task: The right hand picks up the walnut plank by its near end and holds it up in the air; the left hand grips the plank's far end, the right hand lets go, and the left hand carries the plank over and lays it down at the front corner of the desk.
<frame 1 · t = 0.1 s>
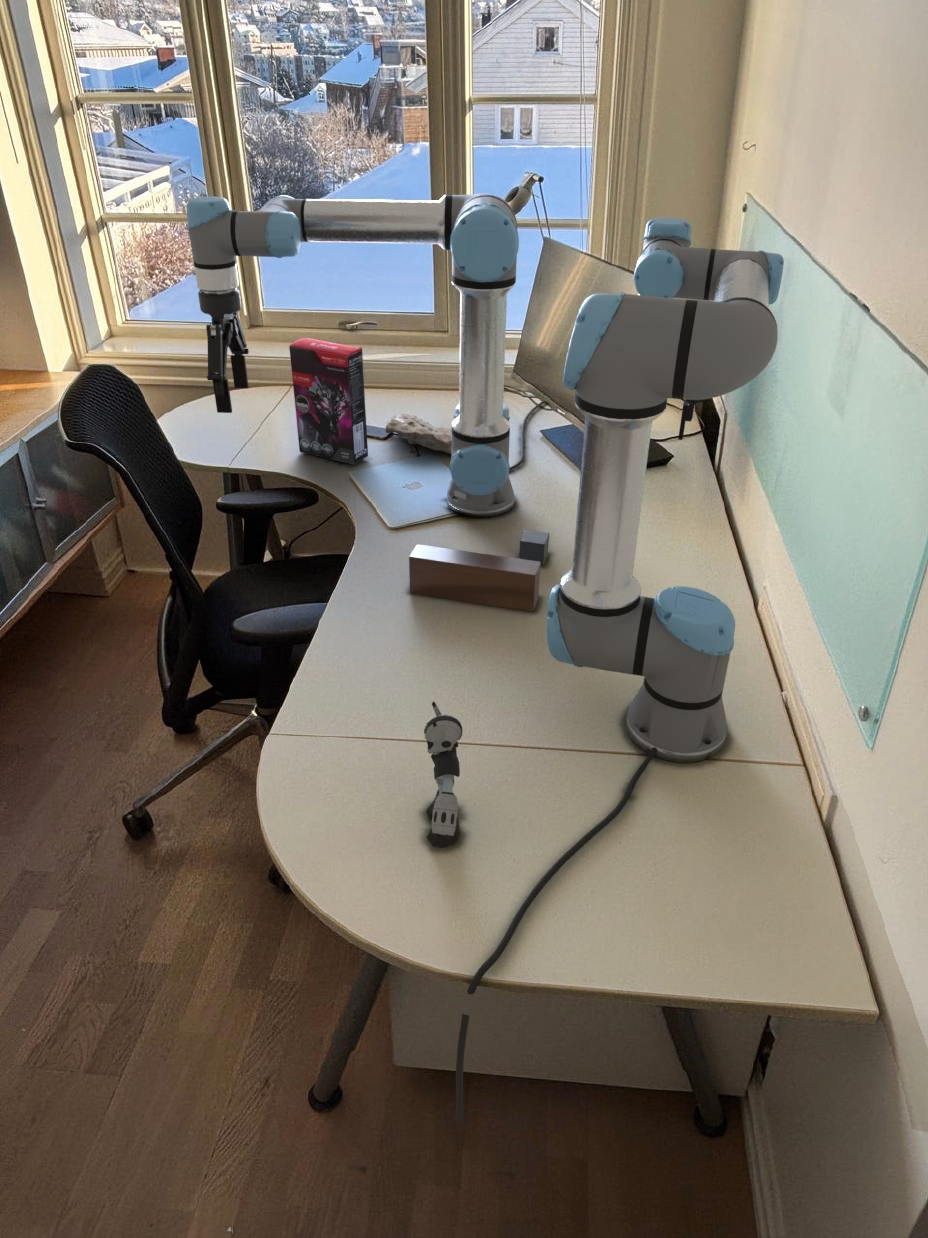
left hand: (233, 399, 183), 28 cm above the table, fingers open, 13 cm apart
right hand: (643, 432, 170), 28 cm above the table, fingers open, 13 cm apart
stone: (422, 444, 235), on the table
slate grey block: (533, 558, 187), on the table
robot: (443, 825, 126), on the table
walnut plank: (474, 595, 175), on the table
graphics card box: (333, 455, 228), on the table
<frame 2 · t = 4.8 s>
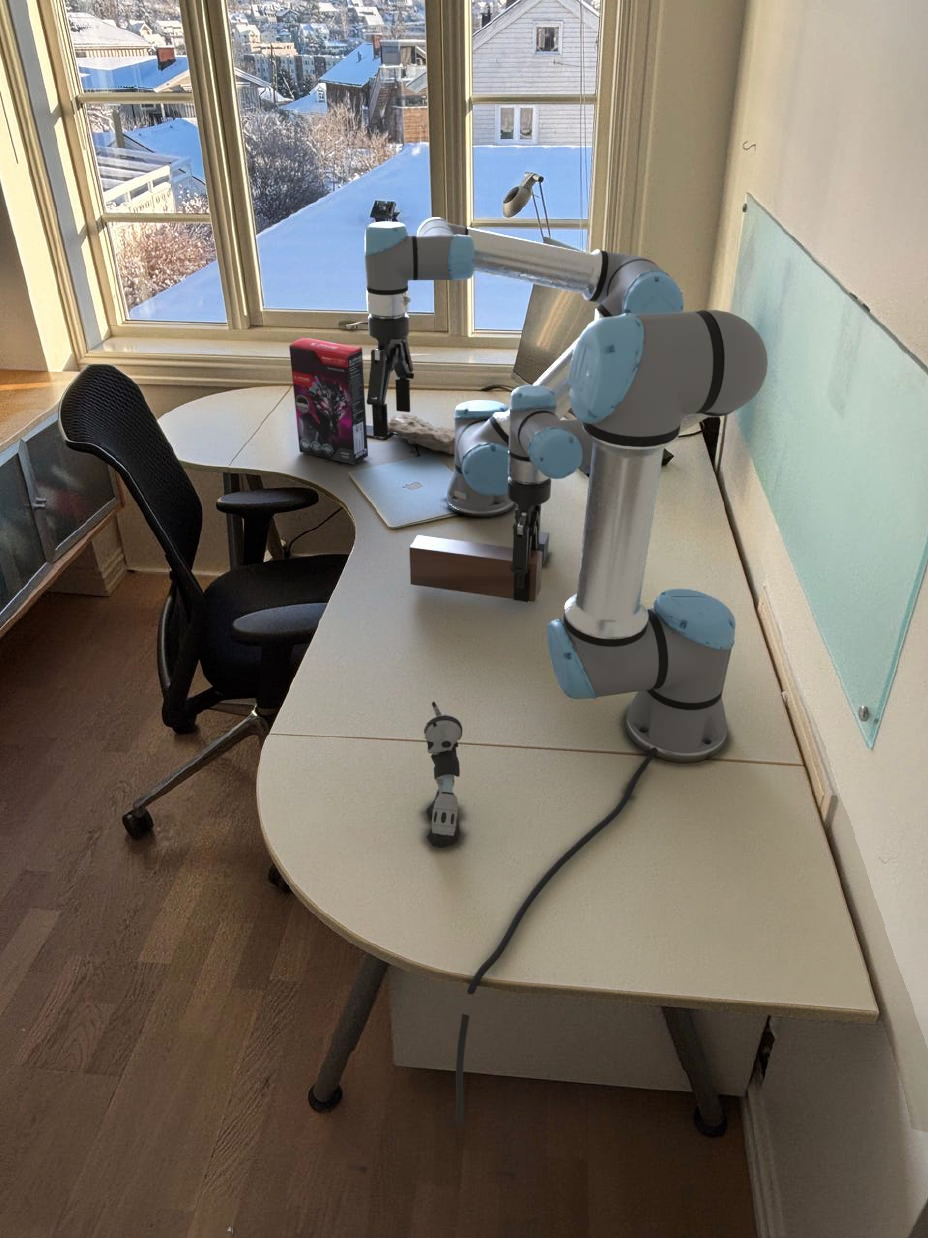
left hand: (392, 423, 181), 25 cm above the table, fingers open, 13 cm apart
right hand: (524, 592, 171), 3 cm above the table, fingers closed on walnut plank, 5 cm apart
walnut plank: (475, 586, 173), point 2 cm above the table, touching right hand
everything else where it was.
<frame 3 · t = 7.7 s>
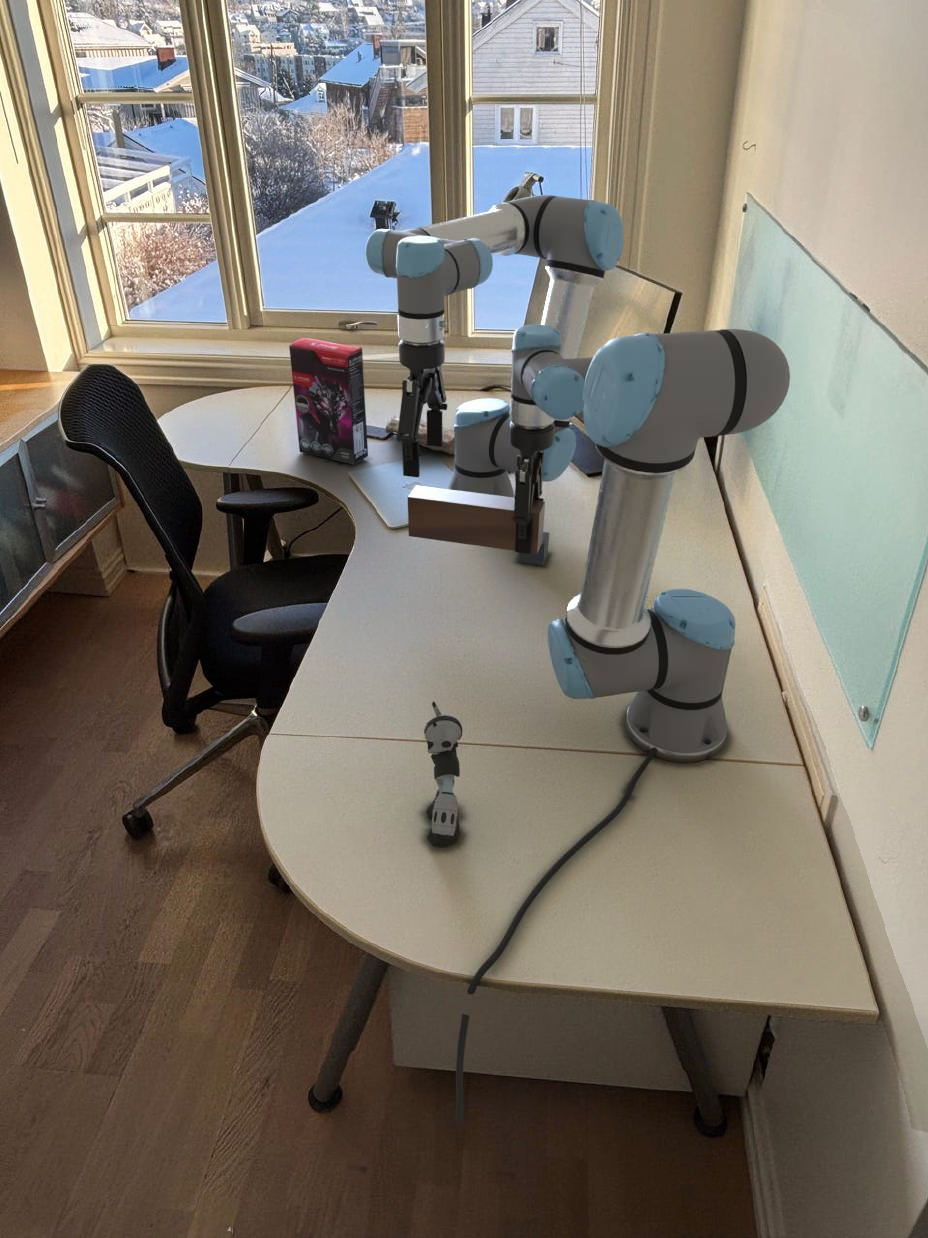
left hand: (423, 460, 162), 27 cm above the table, fingers open, 13 cm apart
right hand: (526, 544, 166), 13 cm above the table, fingers closed on walnut plank, 5 cm apart
walnut plank: (475, 538, 168), point 12 cm above the table, touching right hand
everything else where it was.
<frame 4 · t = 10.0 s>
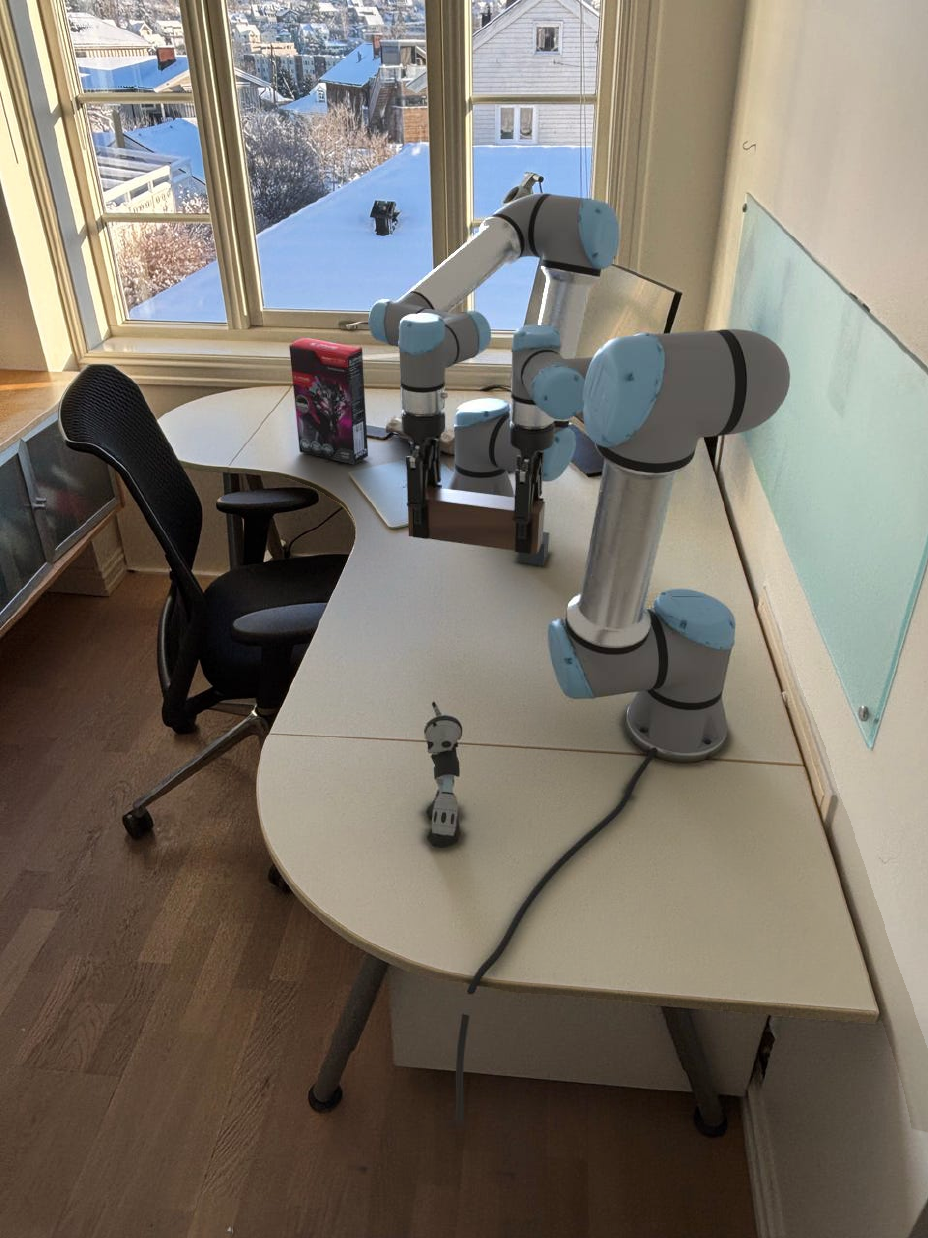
left hand: (425, 529, 170), 13 cm above the table, fingers closed on walnut plank, 5 cm apart
right hand: (526, 544, 166), 13 cm above the table, fingers closed on walnut plank, 5 cm apart
walnut plank: (475, 538, 168), point 12 cm above the table, touching right hand, left hand
everything else where it was.
when the right hand's fingers open (13 cm above the table, at t = 10.7 s): walnut plank stays where it is, held by the left hand.
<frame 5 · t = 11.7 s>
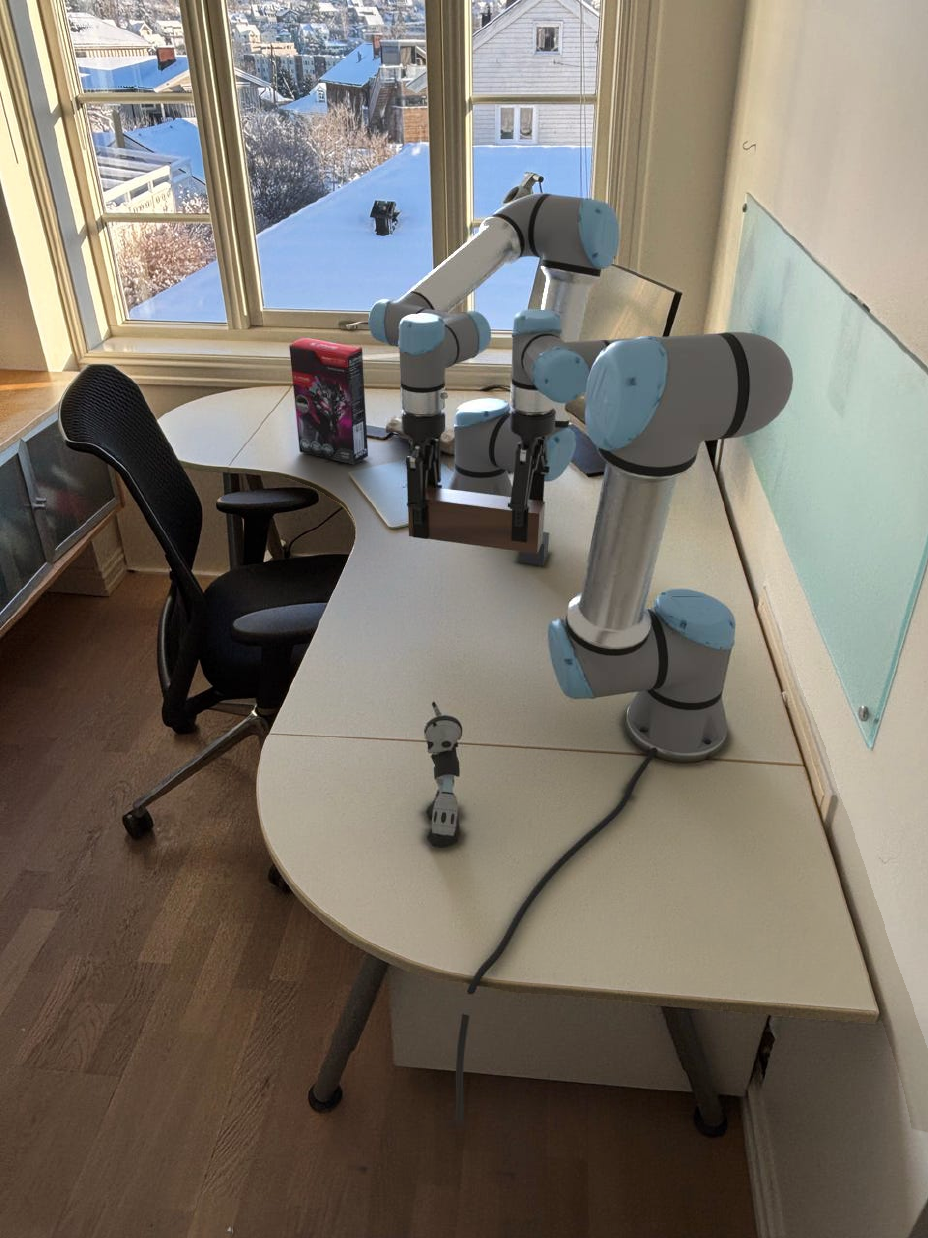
left hand: (425, 529, 170), 13 cm above the table, fingers closed on walnut plank, 5 cm apart
right hand: (527, 523, 163), 17 cm above the table, fingers open, 13 cm apart
walnut plank: (475, 538, 168), point 12 cm above the table, touching left hand
everything else where it was.
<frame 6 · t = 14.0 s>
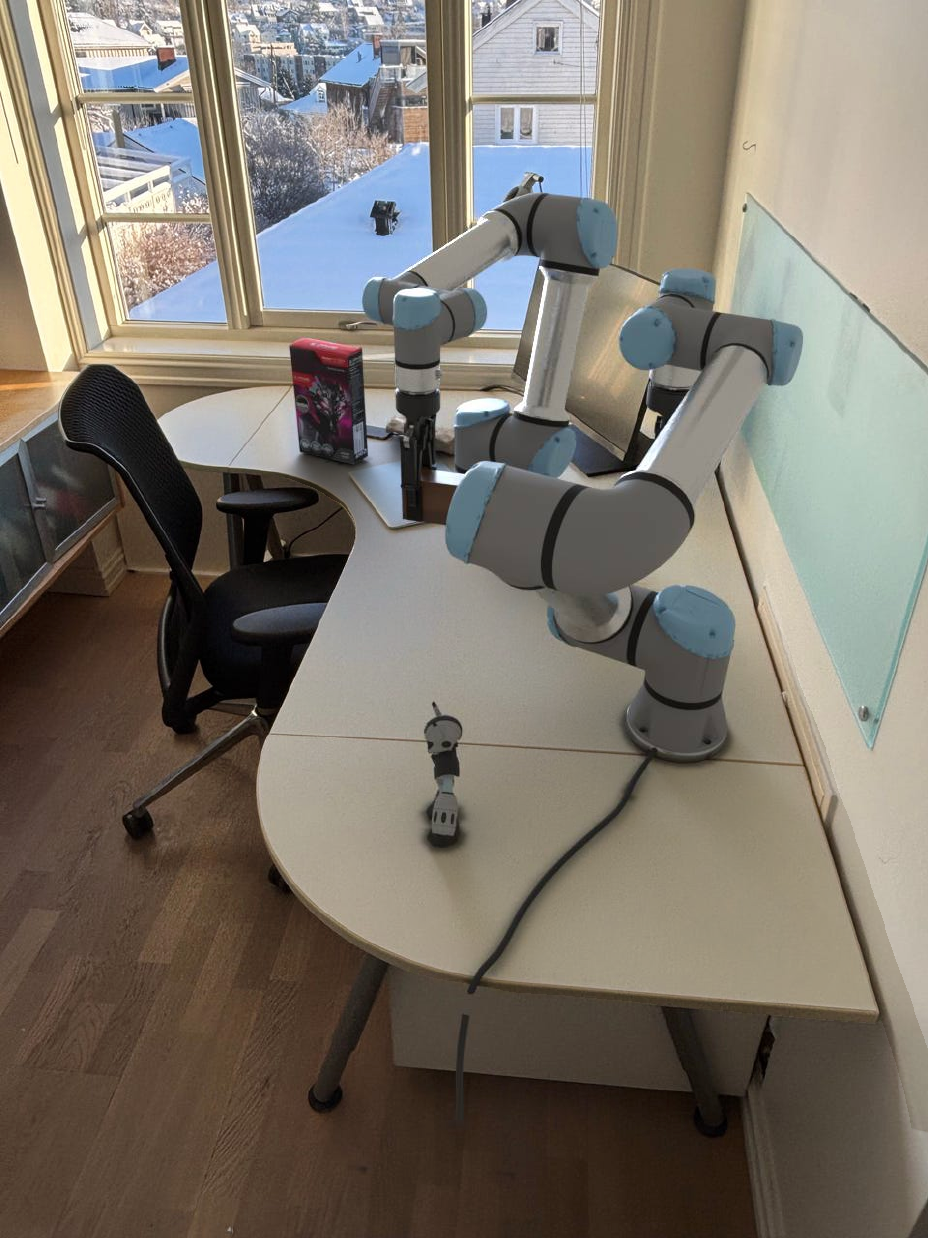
left hand: (419, 512, 166), 17 cm above the table, fingers closed on walnut plank, 5 cm apart
right hand: (656, 512, 146), 27 cm above the table, fingers open, 13 cm apart
walnut plank: (470, 522, 164), point 17 cm above the table, touching left hand
everything else where it was.
when the left hand's fingers open (2 cm above the table, at t = 18.3 s): walnut plank drops 1 cm, on the table.
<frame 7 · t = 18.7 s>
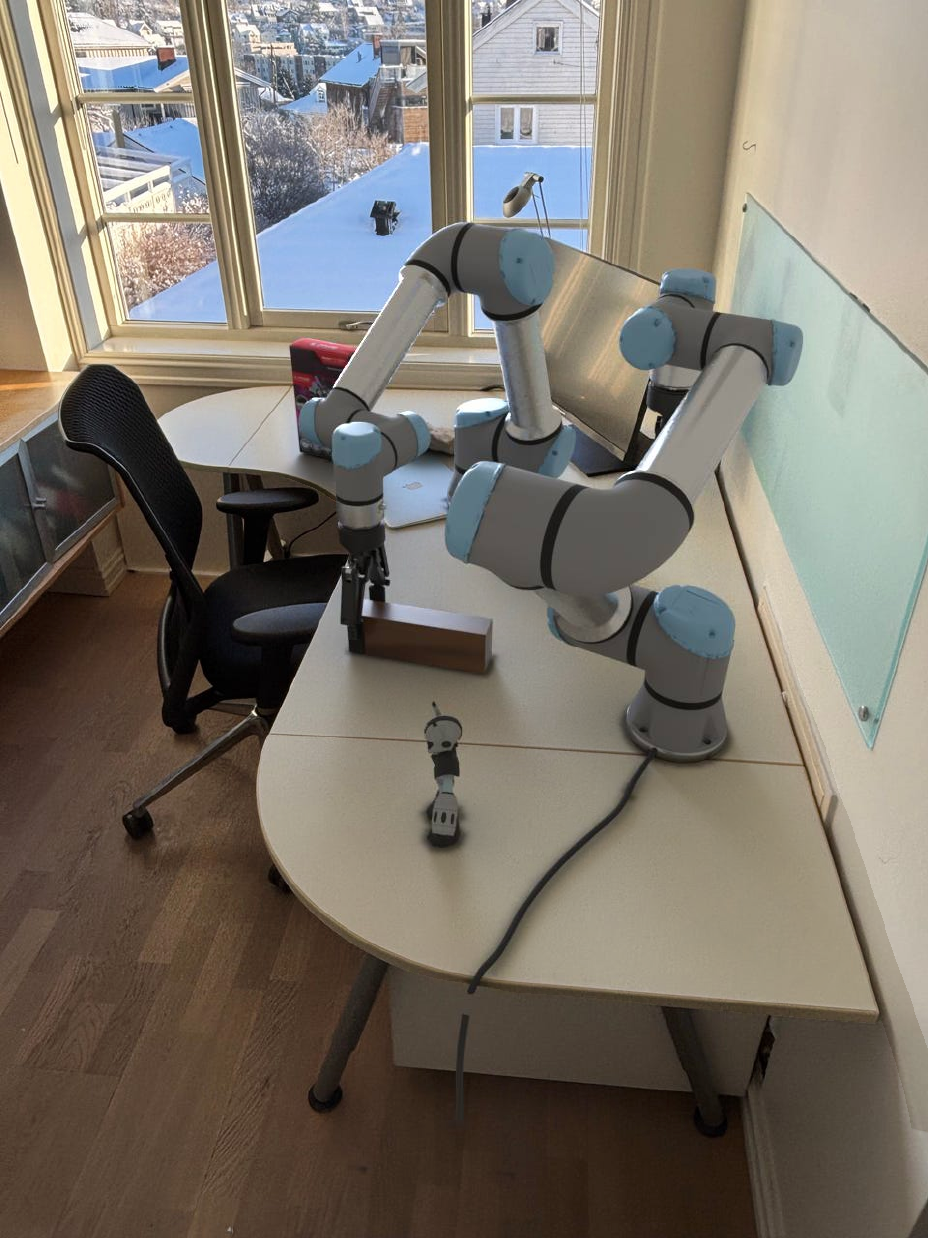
left hand: (368, 634, 160), 2 cm above the table, fingers open, 10 cm apart
right hand: (656, 512, 146), 27 cm above the table, fingers open, 13 cm apart
walnut plank: (420, 654, 159), on the table
everything else where it was.
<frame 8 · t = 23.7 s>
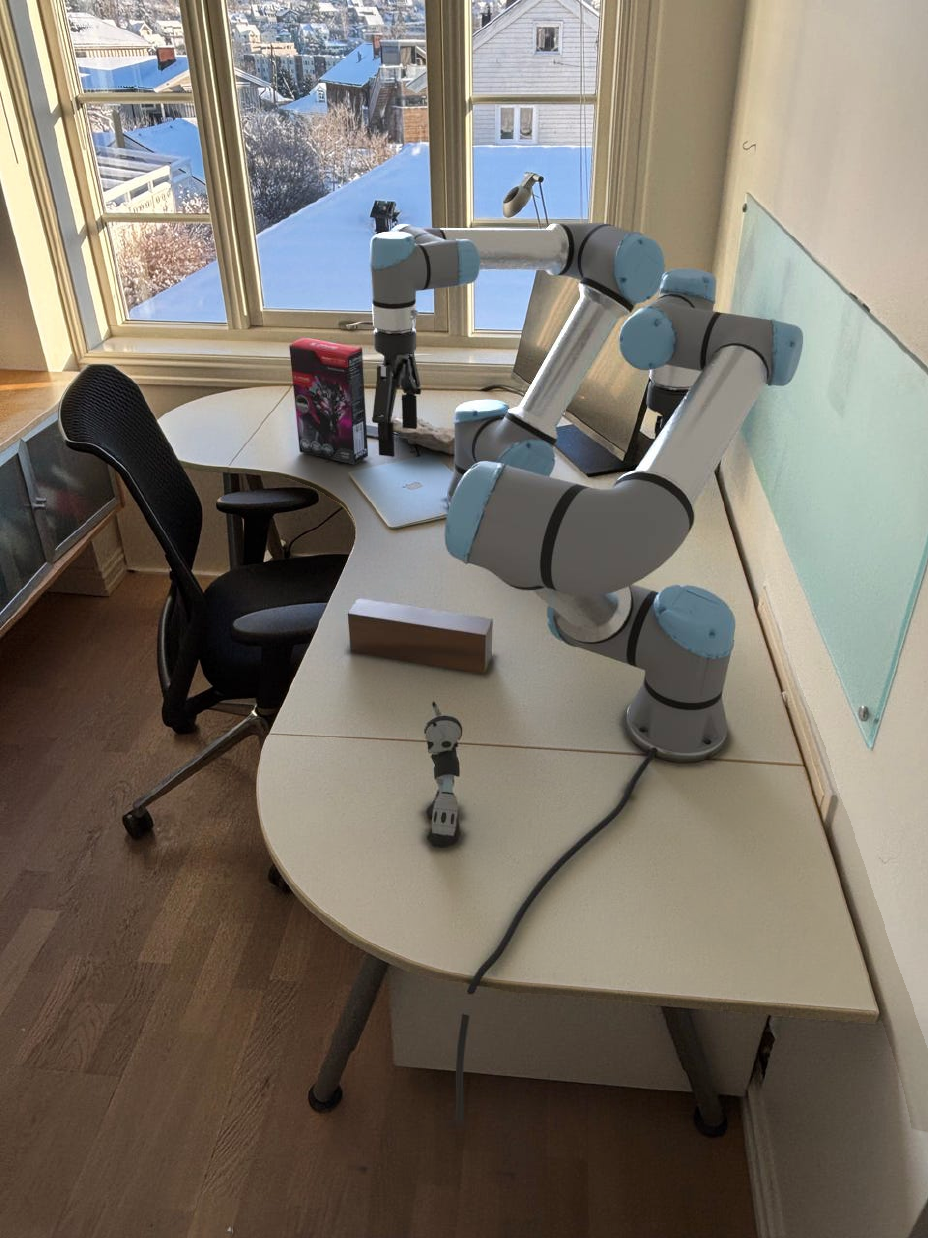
left hand: (398, 441, 174), 25 cm above the table, fingers open, 13 cm apart
right hand: (656, 512, 146), 27 cm above the table, fingers open, 13 cm apart
nothing on the table moved.
at the end: walnut plank inside the target area (0.1 cm from its centre), on the table; both hands held the walnut plank at the same time; the left hand is holding nothing; the right hand is holding nothing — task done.
